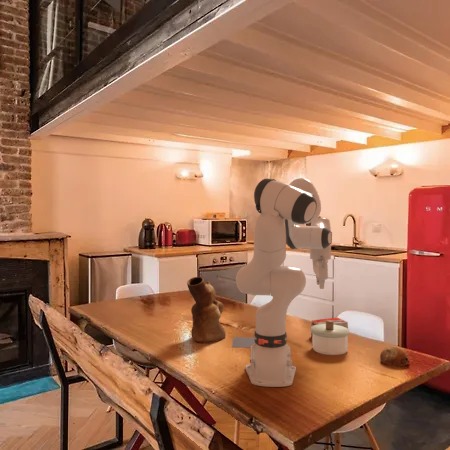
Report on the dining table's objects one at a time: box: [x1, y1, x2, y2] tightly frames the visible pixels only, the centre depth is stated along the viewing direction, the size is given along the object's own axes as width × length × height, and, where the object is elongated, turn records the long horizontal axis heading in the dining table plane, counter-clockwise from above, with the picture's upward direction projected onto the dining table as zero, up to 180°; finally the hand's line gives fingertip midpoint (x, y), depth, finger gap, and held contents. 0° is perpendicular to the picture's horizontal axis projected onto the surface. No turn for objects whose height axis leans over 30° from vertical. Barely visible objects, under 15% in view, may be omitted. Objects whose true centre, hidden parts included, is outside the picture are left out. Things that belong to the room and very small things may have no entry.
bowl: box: [311, 334, 349, 356], centre depth 174 cm, size 14×14×8 cm
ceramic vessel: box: [186, 276, 226, 344], centre depth 186 cm, size 16×22×30 cm
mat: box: [231, 336, 255, 349], centre depth 183 cm, size 14×14×1 cm
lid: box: [310, 320, 350, 338], centre depth 174 cm, size 16×16×5 cm
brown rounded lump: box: [379, 345, 410, 367], centre depth 160 cm, size 10×10×8 cm
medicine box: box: [310, 316, 349, 338], centre depth 191 cm, size 15×8×8 cm, turn 110°
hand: (320, 286), depth 177 cm, fingers open, 8 cm apart
